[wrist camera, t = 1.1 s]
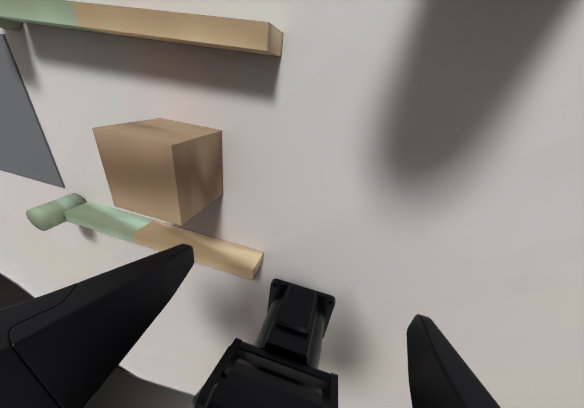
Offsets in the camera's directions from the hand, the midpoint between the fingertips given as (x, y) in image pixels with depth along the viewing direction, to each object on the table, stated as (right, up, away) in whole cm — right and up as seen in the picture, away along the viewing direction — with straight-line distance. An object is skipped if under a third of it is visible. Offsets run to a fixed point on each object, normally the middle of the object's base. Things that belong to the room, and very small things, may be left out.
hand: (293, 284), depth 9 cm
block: (-8, +7, +10) cm, 15 cm away
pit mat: (-30, +12, +14) cm, 35 cm away
